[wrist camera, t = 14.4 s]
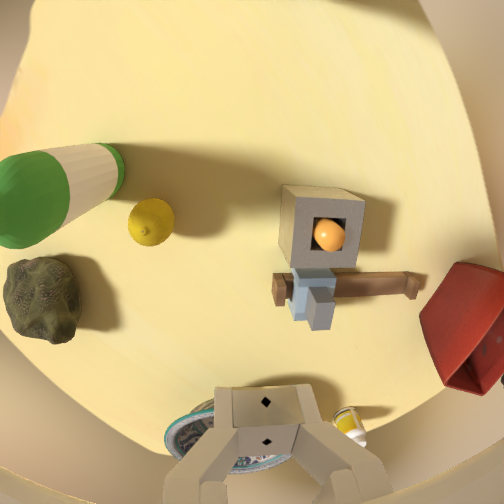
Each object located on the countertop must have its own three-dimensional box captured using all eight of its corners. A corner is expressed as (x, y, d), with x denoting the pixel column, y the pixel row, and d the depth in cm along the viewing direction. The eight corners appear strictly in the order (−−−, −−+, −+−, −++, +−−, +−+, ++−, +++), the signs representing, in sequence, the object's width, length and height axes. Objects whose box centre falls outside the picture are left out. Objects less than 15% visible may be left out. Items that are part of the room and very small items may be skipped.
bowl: (223, 344, 46) (223, 387, 37) (319, 400, 54) (331, 436, 45) (147, 410, 52) (140, 446, 43) (239, 450, 59) (241, 482, 50)
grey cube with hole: (282, 184, 37) (296, 196, 30) (340, 188, 38) (365, 201, 31) (278, 244, 40) (289, 269, 33) (333, 245, 41) (354, 269, 34)
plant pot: (395, 324, 48) (442, 386, 32) (454, 236, 42) (521, 278, 27) (443, 348, 52) (483, 397, 37) (493, 278, 47) (543, 316, 31)
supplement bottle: (329, 420, 57) (340, 453, 48) (341, 405, 55) (354, 440, 46) (348, 420, 58) (360, 452, 49) (360, 406, 56) (374, 438, 47)
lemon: (187, 206, 37) (177, 224, 30) (166, 240, 39) (152, 265, 31) (151, 184, 36) (133, 196, 28) (132, 219, 37) (111, 239, 30)
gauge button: (308, 212, 34) (320, 224, 30) (331, 213, 35) (347, 225, 30) (305, 236, 35) (317, 251, 31) (329, 236, 36) (343, 251, 31)
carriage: (291, 263, 41) (307, 294, 33) (325, 263, 42) (347, 293, 33) (287, 302, 43) (300, 338, 35) (319, 301, 44) (337, 336, 36)
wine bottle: (125, 201, 36) (-36, 340, 9) (76, 197, 35) (-93, 305, 7) (130, 143, 34) (-69, 185, 6) (79, 141, 33) (-115, 185, 5)
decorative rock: (12, 236, 36) (-24, 259, 27) (88, 258, 39) (57, 290, 30) (20, 309, 41) (-7, 340, 32) (89, 335, 44) (67, 373, 35)
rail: (273, 273, 42) (277, 286, 38) (408, 271, 44) (420, 282, 40) (271, 291, 43) (275, 306, 39) (403, 287, 45) (415, 299, 41)
